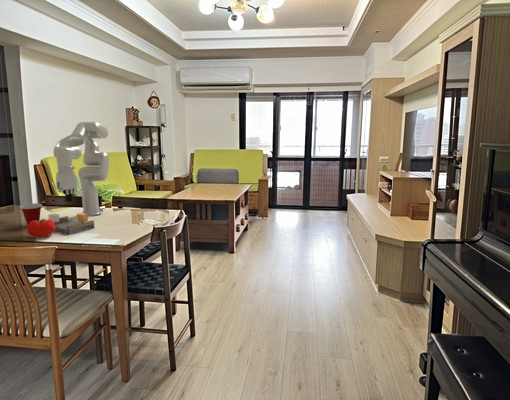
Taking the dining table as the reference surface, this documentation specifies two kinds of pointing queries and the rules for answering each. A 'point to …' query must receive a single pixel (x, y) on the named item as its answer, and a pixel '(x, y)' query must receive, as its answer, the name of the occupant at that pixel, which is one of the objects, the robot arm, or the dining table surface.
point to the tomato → (41, 228)
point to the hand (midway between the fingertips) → (69, 201)
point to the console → (72, 226)
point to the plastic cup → (31, 212)
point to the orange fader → (82, 217)
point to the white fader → (54, 217)
